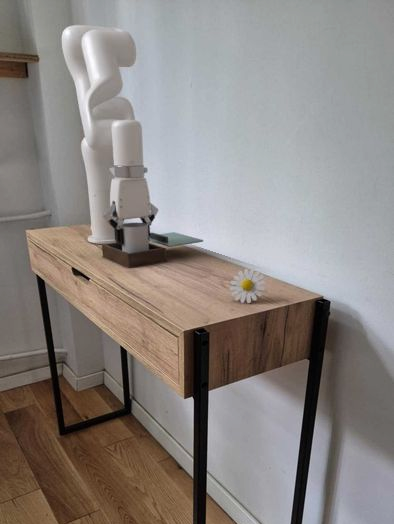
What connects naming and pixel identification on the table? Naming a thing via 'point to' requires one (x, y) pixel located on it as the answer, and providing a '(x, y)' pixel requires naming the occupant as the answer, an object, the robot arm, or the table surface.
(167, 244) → the glass top
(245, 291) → the decorative flower
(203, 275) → the table surface
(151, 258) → the case
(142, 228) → the cup
